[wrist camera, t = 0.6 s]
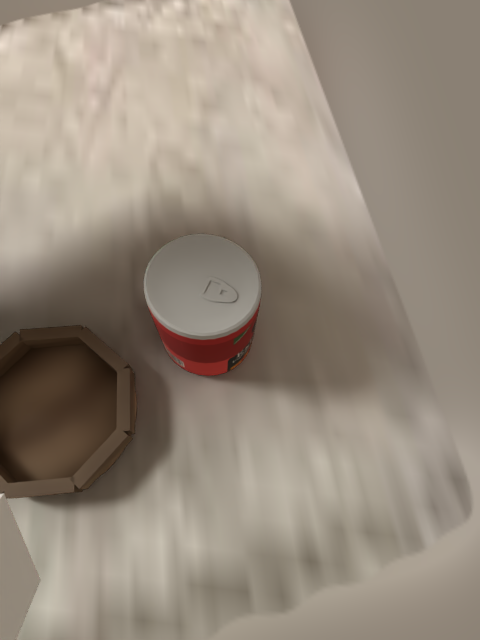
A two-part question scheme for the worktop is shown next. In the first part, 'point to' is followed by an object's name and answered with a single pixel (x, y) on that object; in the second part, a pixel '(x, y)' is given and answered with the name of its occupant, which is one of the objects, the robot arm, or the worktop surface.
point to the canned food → (204, 301)
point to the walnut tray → (61, 410)
